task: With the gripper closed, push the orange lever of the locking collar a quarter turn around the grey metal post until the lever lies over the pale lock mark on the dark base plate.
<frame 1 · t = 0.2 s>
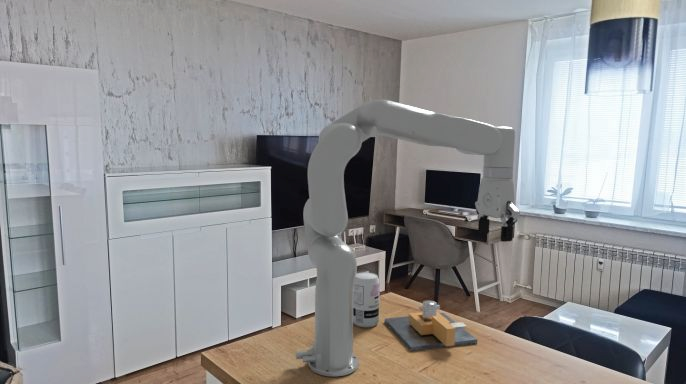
hand: (494, 237, 125), 31 cm above the table, tool pointing down, fingers open, 9 cm apart
supplement can: (365, 323, 143), on the table
collar: (435, 324, 132), point 4 cm above the table, hinge at 0.0°
base plate: (428, 332, 136), on the table
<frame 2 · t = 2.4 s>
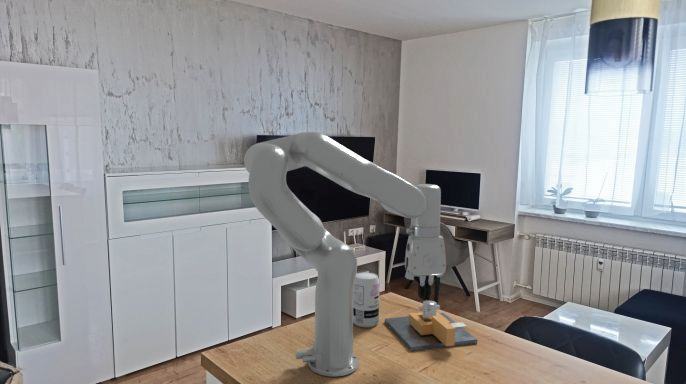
hand: (424, 298, 124), 14 cm above the table, tool pointing down, fingers closed
nothing on the table moved.
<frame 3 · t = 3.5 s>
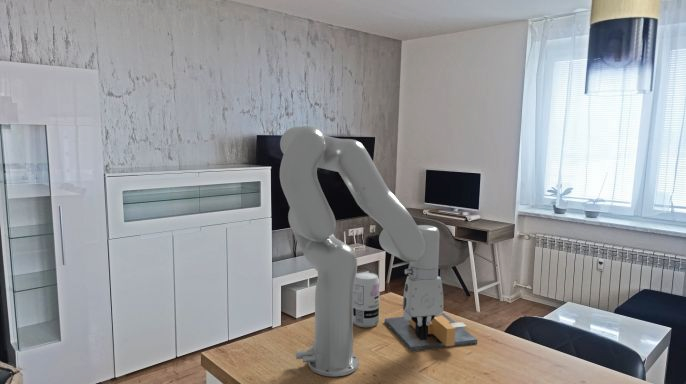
hand: (421, 338, 125), 3 cm above the table, tool pointing down, fingers closed
nothing on the table moved.
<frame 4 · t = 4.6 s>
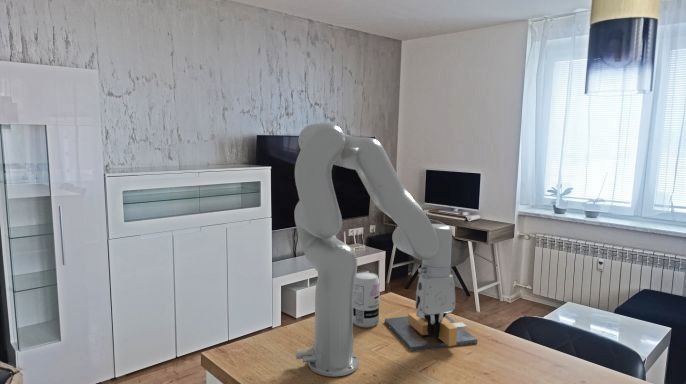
hand: (433, 335, 126), 3 cm above the table, tool pointing down, fingers closed
collar: (436, 324, 132), point 4 cm above the table, hinge at 2.9°, touching gripper
everything else where it was.
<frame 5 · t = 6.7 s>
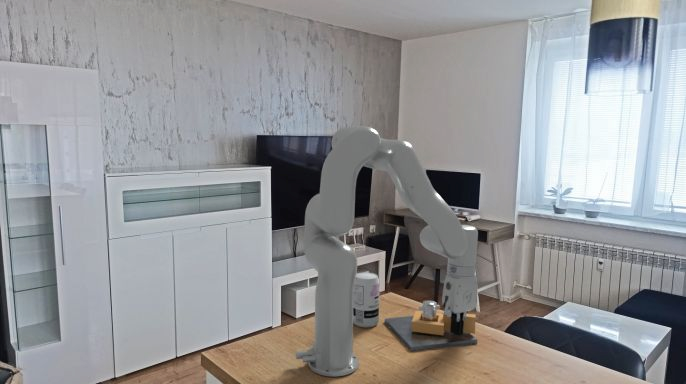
hand: (456, 333, 130), 2 cm above the table, tool pointing down, fingers closed
collar: (443, 320, 135), point 4 cm above the table, hinge at 58.7°, touching gripper
everything else where it was.
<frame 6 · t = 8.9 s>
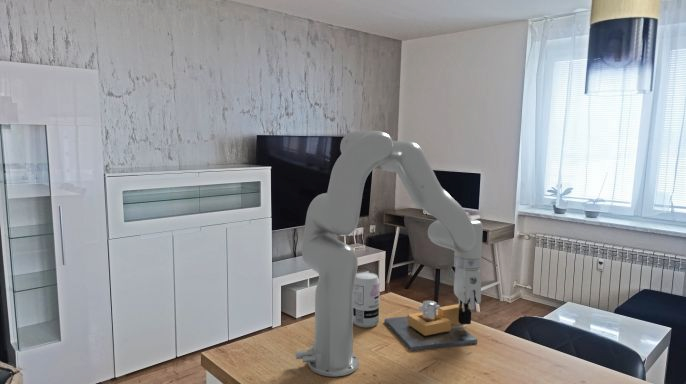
hand: (464, 322, 136), 3 cm above the table, tool pointing down, fingers closed
collar: (440, 316, 138), point 4 cm above the table, hinge at 99.4°
everything else where it was.
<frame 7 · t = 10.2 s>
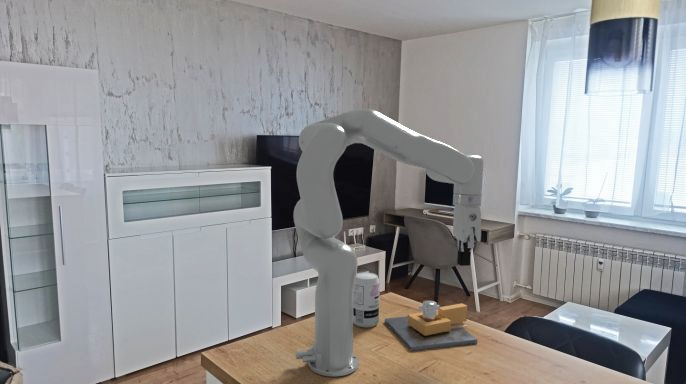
hand: (463, 264, 130), 22 cm above the table, tool pointing down, fingers closed
nothing on the table moved.
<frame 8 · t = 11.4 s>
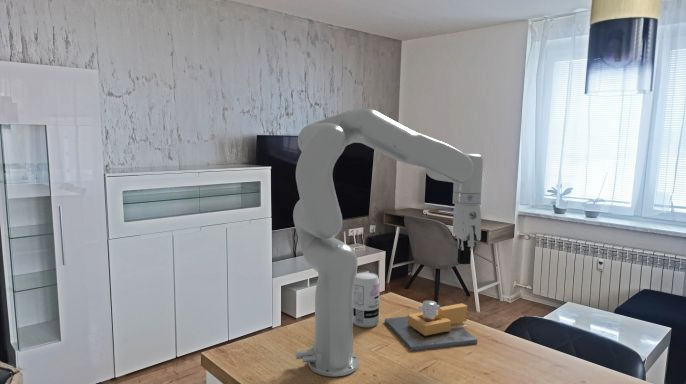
hand: (463, 263, 130), 22 cm above the table, tool pointing down, fingers closed
nothing on the table moved.
at the end: collar at +99° (first picture: +0°) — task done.
